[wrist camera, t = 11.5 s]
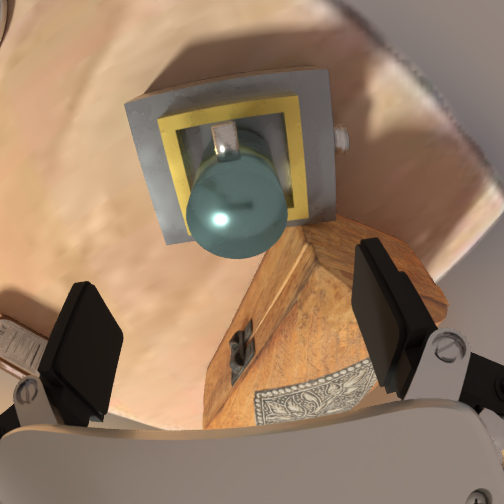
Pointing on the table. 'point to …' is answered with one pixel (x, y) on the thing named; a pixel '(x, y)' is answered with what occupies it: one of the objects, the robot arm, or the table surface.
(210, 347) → the table surface
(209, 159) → the spout can
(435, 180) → the table surface
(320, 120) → the grey yellow box
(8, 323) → the tin
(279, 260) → the wooden box
